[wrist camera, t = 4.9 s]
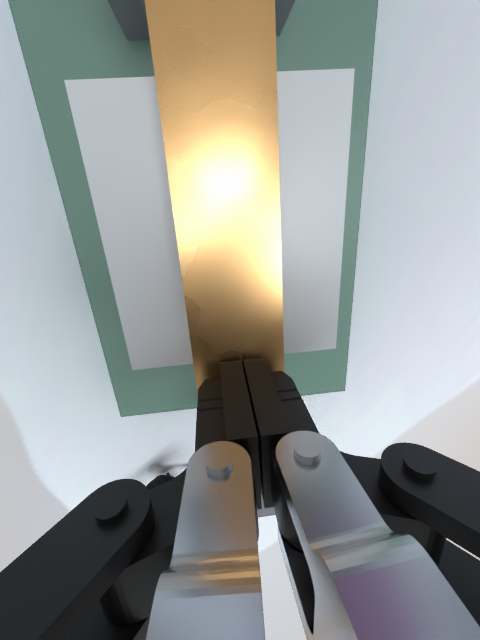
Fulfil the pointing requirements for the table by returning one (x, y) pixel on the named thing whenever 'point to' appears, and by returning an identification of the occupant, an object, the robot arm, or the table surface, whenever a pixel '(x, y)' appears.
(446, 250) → the table surface
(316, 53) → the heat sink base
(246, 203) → the strap
